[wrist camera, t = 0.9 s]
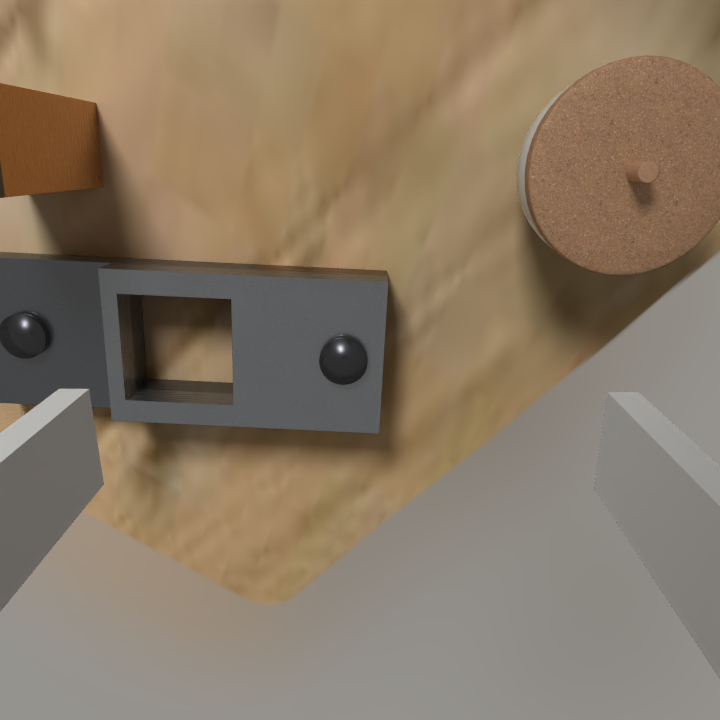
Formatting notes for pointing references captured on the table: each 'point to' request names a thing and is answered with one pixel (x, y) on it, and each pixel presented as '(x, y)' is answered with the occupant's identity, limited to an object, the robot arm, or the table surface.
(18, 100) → the square wooden peg
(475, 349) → the table surface
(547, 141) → the lidded jar
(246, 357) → the slotted plate with knobs
